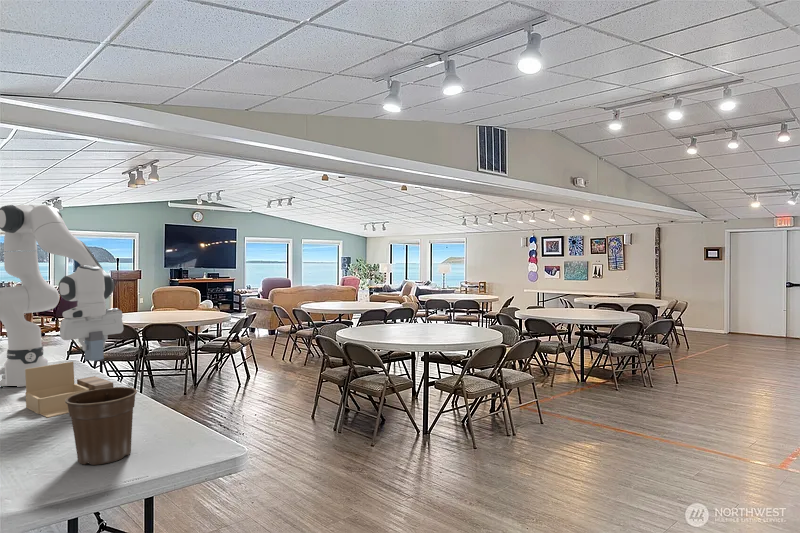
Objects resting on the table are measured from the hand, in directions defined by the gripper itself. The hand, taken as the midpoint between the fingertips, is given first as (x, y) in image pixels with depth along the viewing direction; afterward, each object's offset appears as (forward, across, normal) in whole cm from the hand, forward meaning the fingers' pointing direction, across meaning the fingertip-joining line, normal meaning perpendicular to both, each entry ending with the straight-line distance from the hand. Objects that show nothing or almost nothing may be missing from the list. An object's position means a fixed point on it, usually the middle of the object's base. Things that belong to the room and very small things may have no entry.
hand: (93, 349), depth 199 cm
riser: (+18, 0, 0) cm, 18 cm away
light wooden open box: (+17, +12, +3) cm, 21 cm away
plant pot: (+18, +22, +62) cm, 68 cm away
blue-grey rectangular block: (+4, 0, 0) cm, 4 cm away
